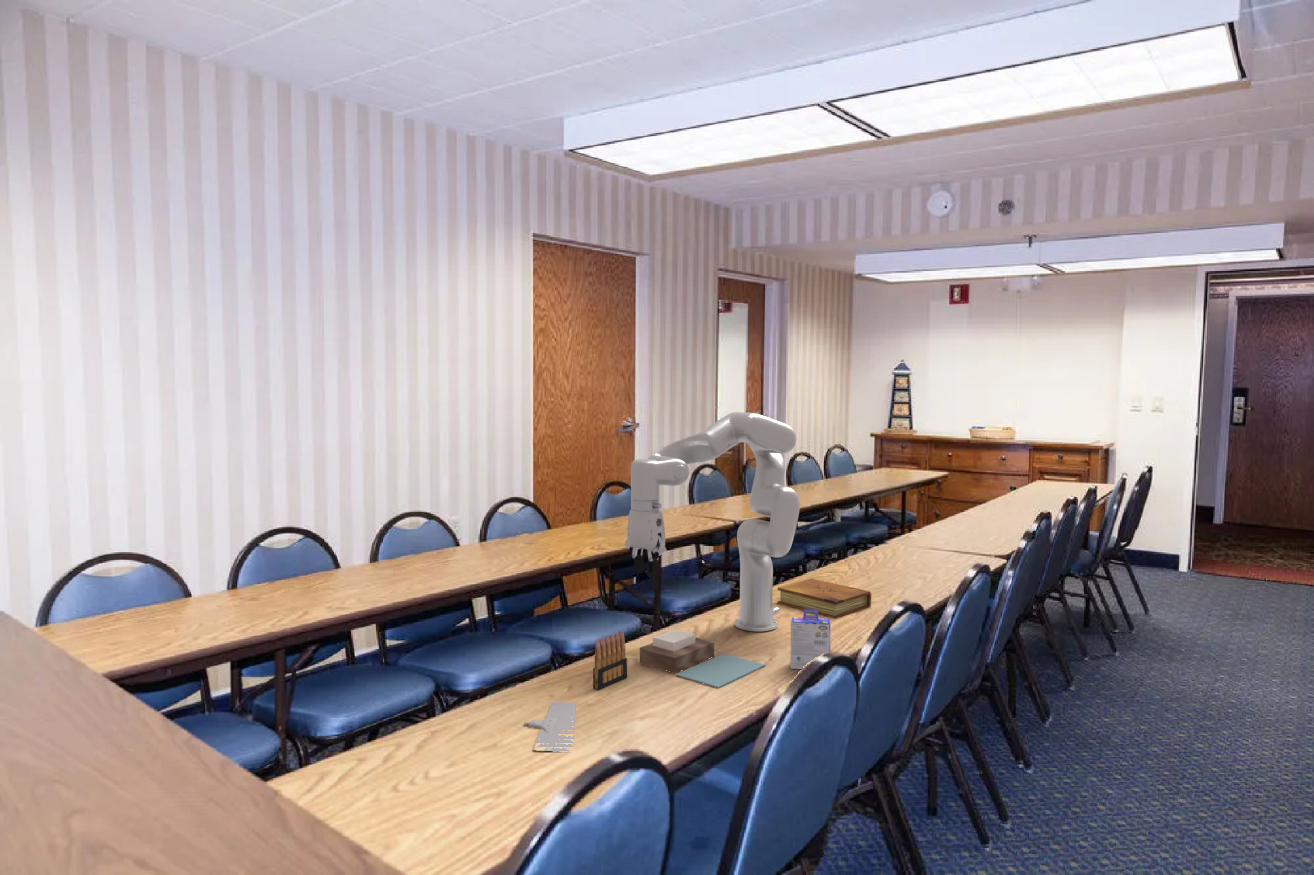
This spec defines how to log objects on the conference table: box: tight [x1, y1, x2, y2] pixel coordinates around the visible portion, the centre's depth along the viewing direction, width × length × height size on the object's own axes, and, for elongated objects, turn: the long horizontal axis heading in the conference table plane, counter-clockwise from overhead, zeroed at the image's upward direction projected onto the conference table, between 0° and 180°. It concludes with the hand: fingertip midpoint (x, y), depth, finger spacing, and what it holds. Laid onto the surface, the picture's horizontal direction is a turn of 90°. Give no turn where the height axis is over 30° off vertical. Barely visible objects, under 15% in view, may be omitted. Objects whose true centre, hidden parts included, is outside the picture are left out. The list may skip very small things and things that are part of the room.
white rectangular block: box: [652, 628, 696, 651], centre depth 218 cm, size 9×7×2 cm
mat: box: [675, 653, 766, 689], centre depth 210 cm, size 20×13×1 cm, turn 139°
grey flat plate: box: [523, 701, 577, 751], centre depth 178 cm, size 25×24×1 cm
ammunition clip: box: [592, 629, 628, 691], centre depth 201 cm, size 11×2×12 cm, turn 142°
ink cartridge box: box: [789, 609, 832, 670], centre depth 212 cm, size 10×6×14 cm, turn 78°
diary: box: [777, 578, 872, 619], centre depth 270 cm, size 23×19×6 cm
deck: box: [639, 636, 715, 674], centre depth 218 cm, size 16×12×4 cm
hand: (645, 573), depth 224 cm, fingers open, 3 cm apart
